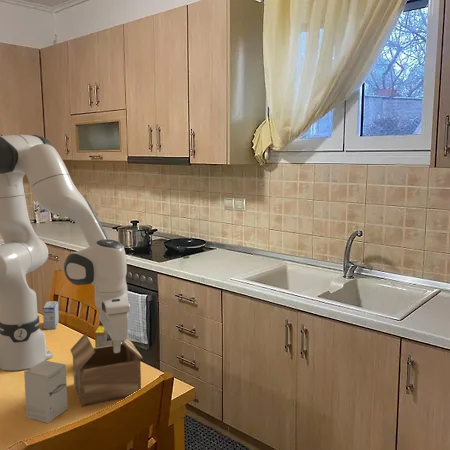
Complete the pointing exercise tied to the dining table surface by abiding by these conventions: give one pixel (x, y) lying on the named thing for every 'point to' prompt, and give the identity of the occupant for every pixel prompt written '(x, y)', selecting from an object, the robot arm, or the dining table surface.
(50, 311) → the medicine box
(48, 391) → the supplement box
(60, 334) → the dining table surface
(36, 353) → the robot arm
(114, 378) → the carton
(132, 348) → the flap
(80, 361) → the flap
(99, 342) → the supplement box
